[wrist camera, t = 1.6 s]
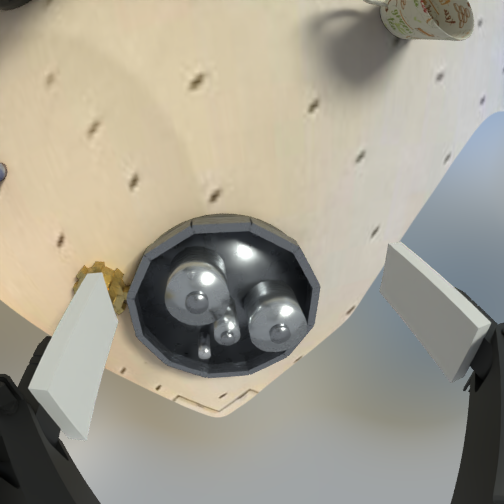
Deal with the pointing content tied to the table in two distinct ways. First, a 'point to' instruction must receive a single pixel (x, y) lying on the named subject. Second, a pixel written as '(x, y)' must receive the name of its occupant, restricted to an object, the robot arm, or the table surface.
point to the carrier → (223, 296)
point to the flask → (2, 171)
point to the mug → (427, 18)
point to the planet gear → (107, 284)
